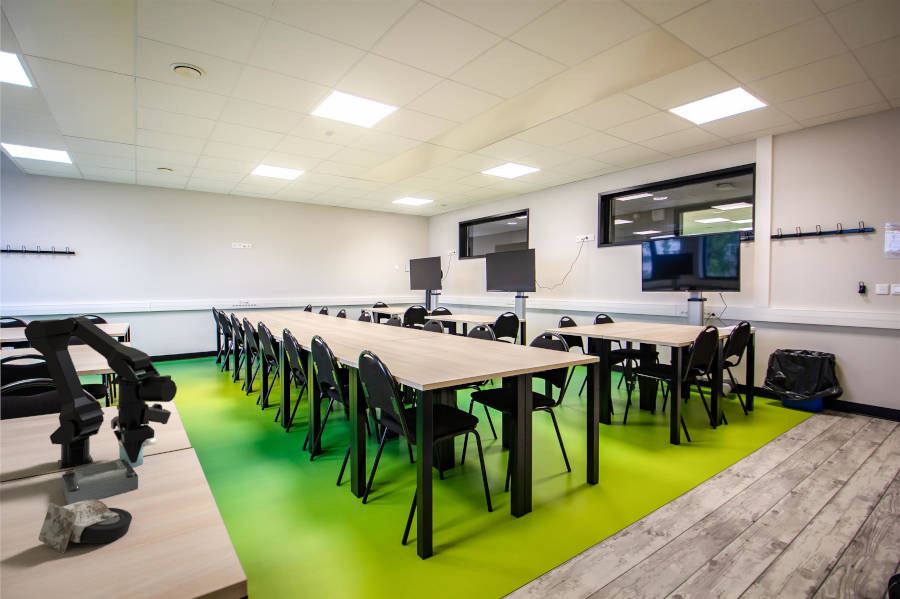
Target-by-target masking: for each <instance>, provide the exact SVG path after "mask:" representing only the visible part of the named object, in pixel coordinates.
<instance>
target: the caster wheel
mask: <svg viewBox="0 0 900 599" xmlns="http://www.w3.org/2000/svg"><path fill="white" fill-rule="evenodd" d="M132 516H133V515H132V514H131V513H130V512H129V511H128V510H126V509H122V508H118V507H108V506H107V504H106V503H105V502H104V501H102V500H100V499H97V500H92V499H91V500H83V501H80V502H76V503H73V504H69V505H68V504H67V505H63V506H59V505H57V504H56V503H54V502H49V505H48V509H47V511H46V515H45V518H44V520H43V523H42V526H41V529H40V531H39V535H38V541H40V542H42V543H43V544H45V545H47V546H48V547H51V548H52V549H54V550H56V551H57V552H60V553H62V552H65V553H66V550H67V547H68V544H69V541H70V542H73V543H89V544H103V543H110V542H114V541H116V540H119V539H121V538H123V537H124V536H126V534H127V533H128V532H129V529H130V526H131V523H132V520H133V517H132Z"/></svg>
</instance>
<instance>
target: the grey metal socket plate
mask: <svg viewBox="0 0 900 599" xmlns="http://www.w3.org/2000/svg"><path fill="white" fill-rule="evenodd" d="M133 468H134V467H131V466H130V465H129V463H128V462H127V461H125V459H122V460H120V458H117V459H112V460H107V461H101V462H98V463H93V464H89V465H88V464H87V465H85V466H79V467H75V468H73V470H68V471H65V472H64V473H63V474H61V488H62V492H63V495H64V498H65V500H66V503H67V505H69V504H73V503H76V502H80V501H83V500H91V499H92V500H100V499H104V498H108V497H112V496H115V495H119V494H123V493H127V492H130V491H135V490H138V489H139V475H138V474H137V473H136V471H135V470H134V469H133Z"/></svg>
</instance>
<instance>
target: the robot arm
mask: <svg viewBox="0 0 900 599" xmlns="http://www.w3.org/2000/svg"><path fill="white" fill-rule="evenodd" d="M23 332H24V336H25V338H26V340H27V341H28V343H29V345H30V347H31V348H32V349H34V350H36V351H37V352H39V353H40V354H41V355H42V356H43V359H44V361H45V363H46V366H47V368H48V372H49V373H50V377H51V380H52V382H53V385H54V387H55V390H56V393H57V395H58V397H59V401H60V402H61V409H60V413H59V415H58V420H59V427H57V429H55V430H54V432H52V433H51V434H50V435H49V440H50V442H51V444H52V445H60V459H58V460H57V464H58V467H59V469H65V468H70V467H76V466H78V465H79V466H80V465H83V464H88V463H93V462H94V459H93V457H92V455H91V454H90V450H91V449H90V447H91V446H90V442H91V441H90V437H92V436H97V435H98V434H99V432H100V428H101V426H102V425H103V422H104V415H105V412H104V410H103V409H102V405H101V403H100V402H99V400H94V401H91V399H89V398H87V396H86V393H85V390H84V388H83V386H82V385H83V384H82V383H81V380H80V378H79V375H78V372H77V369H76V367H75V365H74V361H73V360H72V357H71V354H70V352H69V349H68V348H69V345H70V341H71V339H72V337H71V335H73V336H74V337H75V338H77V339H79V340H80V341H81V342H82V343H84V344H86V345H87V346H88V347H90V348H91V349H92V350H94V351H95V352H97V353H98V354H99V355H101V356H102V357H103V358H104V359H105V360H106V362H107V365H108V367H109V368H110V369H111V370H112V372H114V373H115V375H117V376H116V377H114V378H113V379H112V380H111V381H110V383H109V384H110V385H118V394H117V395H118V400H117V401H118V404H116V409H117V410H118V414H117V415H116V416H114V417H113V418H112V419H111V420H110V428H111V429H112V430H113V434H114V436H115V437H116V439H117V441H119V440H120V441H121V443H122V445H123V447H124V449H125V451H126V453H127V455H128V457H129V460H130V462H131V463H136V462H137V459H138V456H139V453H140V449H141V446H142V444H143V442H144V441H145V440H149V439H154V438H155V429H154V428H153V427H152V426H150V425H149V424H150V422H153V423H158V424H159V423H160V424H161V425H167V424H168V422H169V419H170V417H171V414H172V412H171V411H170V410H168V409H166V408H163V405H162V404H160V403H169V402H172V401H173V400H174V398H175V397H176V394H177V393H178V392H177V391H178V386H176V382H175V381H174V380H173V379H172V376H171V375H170V374H169V375H168V374H166V375H161V374H160V372H159V371H158V369H157V368H156V367H155V365H154V364H153V362H152V361H151V357H150V355H149V354H148V353H146V352H144V351H142V350H140V349H138V348H134V347H132V346H128V345H125V344H123V343H121V342H120V341H118V340H117V339H116V338H114V337H113V336H112V335H110V334H108V333H107V332H106V331H104V330H103V329H102V328H100V327H99V326H97V325H96V324H94V323H93V322H92V321H91V320H90V318H88V317H86V316H73V317H72V316H70V317H67V318H64V319H61V318H59V319H58V318H56V319H55V318H53V319H36V320H31V321H30V322H29V323H28V324H27V325H26V327H25V328H24V330H23ZM146 402H152V403H153V402H154V403H153V404H152V406H149V404H148V403H146ZM155 402H156V403H155ZM159 402H160V403H159ZM116 428H117V429H116ZM115 429H116V430H115Z"/></svg>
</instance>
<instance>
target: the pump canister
mask: <svg viewBox="0 0 900 599" xmlns="http://www.w3.org/2000/svg"><path fill="white" fill-rule="evenodd" d="M117 441H118V440H117ZM156 444H157V438H155V437H154V438H151V439H147V440H145V441H144V442H143V444H142V446H141V449H140V453H139V456H138V459H137V462H136V463H131V462H130V460H129V457H128V455H127V453H126V451H125V449H124V447H123V445H122V443H121V441H120V440H119V441H118V446H119V459H120V460H122V459H125V461H127V462H128V463H129V465H130V466H131V467H132V468H136V467H139V466H141V465H143V464H144V447H149V446H154V445H156Z"/></svg>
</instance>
